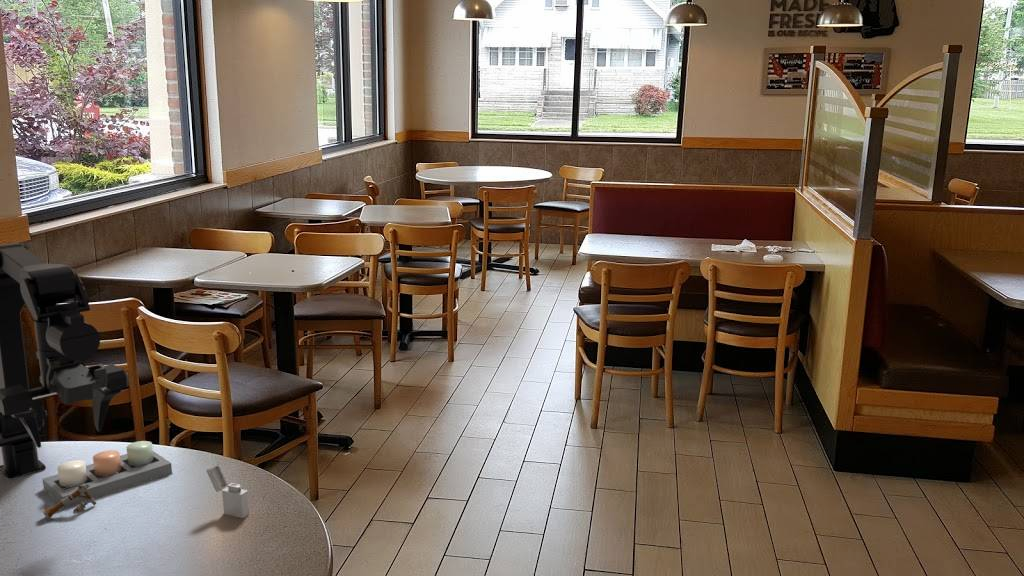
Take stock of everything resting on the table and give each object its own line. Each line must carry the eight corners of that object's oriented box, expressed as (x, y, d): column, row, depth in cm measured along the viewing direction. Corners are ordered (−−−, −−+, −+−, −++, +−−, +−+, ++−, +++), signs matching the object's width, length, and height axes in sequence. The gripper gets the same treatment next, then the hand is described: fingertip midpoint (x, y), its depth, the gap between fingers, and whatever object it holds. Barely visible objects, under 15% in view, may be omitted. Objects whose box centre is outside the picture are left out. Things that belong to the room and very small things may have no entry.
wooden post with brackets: (102, 501, 150) (88, 482, 148) (57, 532, 146) (42, 512, 144) (99, 497, 151) (85, 478, 149) (55, 527, 147) (40, 508, 145)
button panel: (43, 488, 156) (42, 478, 155) (148, 457, 169) (147, 447, 169) (64, 507, 149) (62, 496, 149) (172, 472, 162) (171, 463, 162)
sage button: (124, 460, 163) (122, 445, 162) (147, 453, 166) (145, 439, 165) (134, 467, 160) (132, 452, 159) (157, 460, 163) (156, 445, 162)
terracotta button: (90, 470, 159) (89, 455, 158) (115, 463, 162) (113, 448, 161) (100, 478, 156) (98, 462, 155) (125, 470, 159) (123, 455, 158)
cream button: (55, 481, 154) (53, 465, 154) (81, 473, 157) (79, 458, 157) (64, 489, 151) (62, 473, 151) (91, 481, 154) (89, 465, 154)
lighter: (249, 513, 147) (246, 469, 145) (243, 518, 146) (239, 474, 144) (216, 506, 150) (212, 462, 148) (209, 510, 148) (205, 466, 146)
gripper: (9, 371, 125) (23, 471, 129) (138, 344, 138) (148, 436, 142) (-15, 354, 133) (-1, 450, 137) (110, 330, 146) (120, 418, 150)
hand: (69, 438), depth 141 cm, fingers open, 9 cm apart
